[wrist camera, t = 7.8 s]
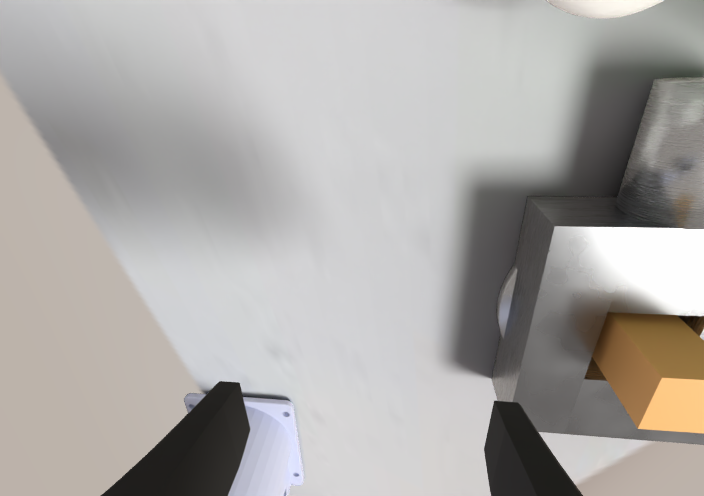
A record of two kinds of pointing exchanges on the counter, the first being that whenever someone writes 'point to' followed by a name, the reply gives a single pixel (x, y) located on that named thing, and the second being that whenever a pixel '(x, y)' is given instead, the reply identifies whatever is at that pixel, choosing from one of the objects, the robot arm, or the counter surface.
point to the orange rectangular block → (654, 369)
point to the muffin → (603, 7)
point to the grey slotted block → (606, 273)
